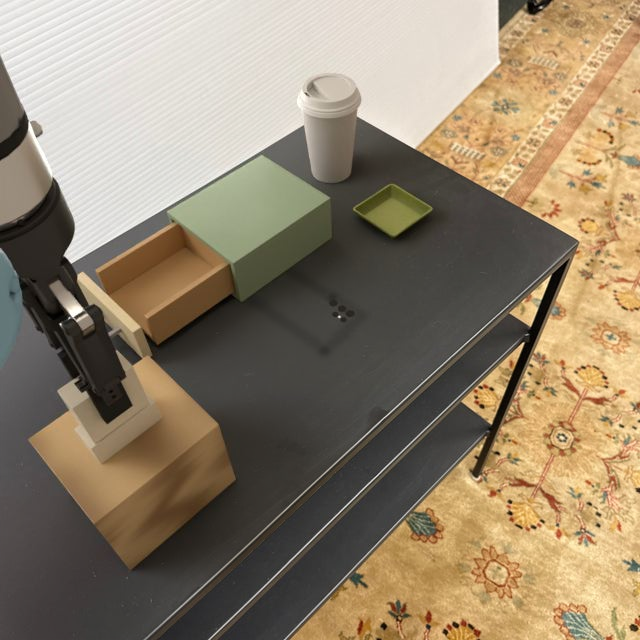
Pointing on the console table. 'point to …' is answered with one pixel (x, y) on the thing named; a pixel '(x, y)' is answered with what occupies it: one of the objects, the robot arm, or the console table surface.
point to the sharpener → (122, 429)
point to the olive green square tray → (392, 210)
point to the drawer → (158, 287)
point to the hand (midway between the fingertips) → (107, 400)
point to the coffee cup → (330, 124)
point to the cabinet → (257, 222)
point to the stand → (143, 469)
